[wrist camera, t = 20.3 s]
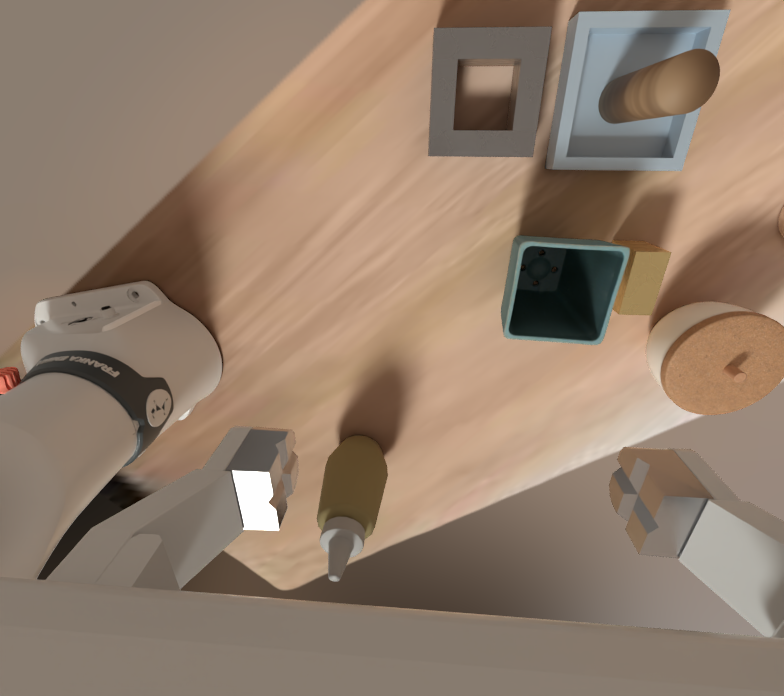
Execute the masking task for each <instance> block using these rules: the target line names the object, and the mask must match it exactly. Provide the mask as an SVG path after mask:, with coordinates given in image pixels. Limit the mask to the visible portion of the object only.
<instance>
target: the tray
mask: <svg viewBox="0 0 784 696" xmlns="http://www.w3.org/2000/svg"><path fill="white" fill-rule="evenodd" d="M729 13H730V10H671V11H595V12H578V13H577V14H576V15H575V16H574V17H573V18H572V19H571V20H569V22H568V28H567V35H566V41H565V47H564V53H563V59H562V65H561V72H560V78H559V84H558V90H557V96H556V102H555V109H554V115H553V121H552V127H551V133H550V139H549V145H548V152H547V158H546V164H545V169H552V170H641V171H682V168H683V165H684V162H685V158H686V155H687V152H688V148H689V145H690V142H691V139H692V135H693V132H694V129H695V125H696V122H697V119H698V115H699V112H700V109H701V107H700V108H698V109H697V110H695V111H693V112H690V113H687V114H681V115H674V116H667V117H660V118H653V119H646V120H639V121H632V122H626V123H619V124H611V123H608V122H606V121H605V120H604V119H603V118H602V117H601V115H600V113H599V109H598V103H599V98H600V95H601V93H602V91H603V90H604V88H605V87H606V86H607V85H608V84H609V83H610V82H611V81H612V80H614V79H616V78H618V77H621V76H623V75H626V74H629V73H631V72H634V71H637V70H639V69H642V68H644V67H647V66H650V65H652V64H655V63H657V62H660V61H663V60H665V59H668V58H671V57H673V56H676V55H678V54H681V53H684V52H686V51H689V50H692V49H705V50H708V51H710V52H711V53H713V54H714V55H715V57H716V56H717V53H718V50H719V46H720V43H721V40H722V36H723V33H724V30H725V26H726V23H727V20H728V17H729Z"/></svg>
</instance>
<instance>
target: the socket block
mask: <svg viewBox="0 0 784 696" xmlns="http://www.w3.org/2000/svg"><path fill="white" fill-rule="evenodd" d="M551 30H552V27H474V28H434V35H433V56H432V79H431V102H430V126H429V149H428V156H474V157H533V152H534V145H535V138H536V132H537V125H538V118H539V111H540V105H541V98H542V91H543V84H544V78H545V71H546V64H547V57H548V51H549V44H550V37H551ZM457 66H514V69H513V77H512V86H511V94H510V102H509V111H508V119H507V128H506V131H488V130H453V125H454V110H455V95H456V80H457Z"/></svg>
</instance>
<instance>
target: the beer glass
mask: <svg viewBox="0 0 784 696" xmlns="http://www.w3.org/2000/svg"><path fill="white" fill-rule="evenodd" d="M778 228H779V232H780V234H781V236H782V237H783V238H784V206H783V208H782V210H781V213H780V215H779V220H778Z"/></svg>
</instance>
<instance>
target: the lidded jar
mask: <svg viewBox="0 0 784 696" xmlns="http://www.w3.org/2000/svg"><path fill="white" fill-rule="evenodd" d="M645 354H646V361H647V365H648V368H649V370H650V372H651V374H652V376H653V377H654V379H655V380H656V382H657V383H658V384H659V386H660V387H661V388H662V389H663V390H664V391H665V393H666V394H667V396H668V397H669V398H670V399H671V400H672V401H673V402H674V403H675V404H676V405H678V406H679V407H681V408H682V409H684V410H686V411H689V412H692V413H696V414H703V415H717V414H726V413H730V412H733V411H737V410H740V409H743V408H745V407H747V406H749V405H752V404H753V403H755V402H757V401H759V400H760V399H762V398H763V397H764V396H766V395H767V394H768V393H769V392H771V391H772V390H773V389H774V388H775V387H776V386H777V385H778V384H779V383H780V381H781V380H782V379H783V377H784V327H783V326H782V325H781V324H780V323H778V322H777V321H775V320H773V319H771V318H769V317H767V316H765V315H762V314H759V313H755V312H753V311H751V310H749V309H746V308H743V307H740V306H736V305H733V304H729V303H723V302H715V301H714V302H697V303H692V304H689V305H685V306H682V307H680V308H677V309H675V310H673V311H672V312H670V313H668V314H667V315H666V316H664V317H663V318H662V319H661V320H660V321H659V322H658V323H657V324H656V325H655V326H654V328H653V329H652V331H651V332H650V335H649V337H648V340H647V344H646V350H645Z"/></svg>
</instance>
